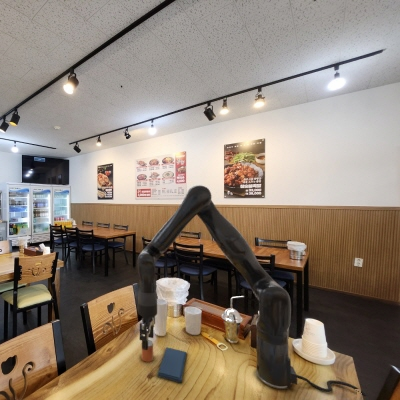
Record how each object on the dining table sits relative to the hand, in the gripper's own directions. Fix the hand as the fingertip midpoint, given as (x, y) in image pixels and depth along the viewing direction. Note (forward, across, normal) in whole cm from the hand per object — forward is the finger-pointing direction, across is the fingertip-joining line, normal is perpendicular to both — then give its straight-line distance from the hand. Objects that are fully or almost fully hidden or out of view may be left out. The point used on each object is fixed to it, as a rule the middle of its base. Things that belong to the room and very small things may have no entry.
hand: (148, 343), depth 90 cm
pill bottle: (+6, 0, 0) cm, 6 cm away
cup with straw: (+6, +26, -32) cm, 42 cm away
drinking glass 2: (+6, +19, -1) cm, 20 cm away
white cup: (+6, +27, -15) cm, 31 cm away
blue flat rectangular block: (+6, 0, -10) cm, 11 cm away
